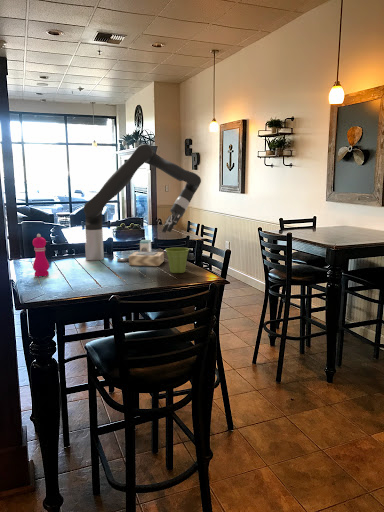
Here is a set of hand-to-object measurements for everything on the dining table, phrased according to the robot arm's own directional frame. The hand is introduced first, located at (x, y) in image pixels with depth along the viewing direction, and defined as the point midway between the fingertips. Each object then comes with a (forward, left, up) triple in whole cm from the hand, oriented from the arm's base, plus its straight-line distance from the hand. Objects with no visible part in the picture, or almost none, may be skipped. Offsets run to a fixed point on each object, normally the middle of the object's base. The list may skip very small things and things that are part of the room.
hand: (165, 231), depth 224 cm
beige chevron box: (-10, -4, -17) cm, 20 cm away
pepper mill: (-53, -38, -17) cm, 67 cm away
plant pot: (+10, -24, -17) cm, 31 cm away
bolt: (-24, -2, -17) cm, 29 cm away
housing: (-14, +10, -17) cm, 24 cm away
